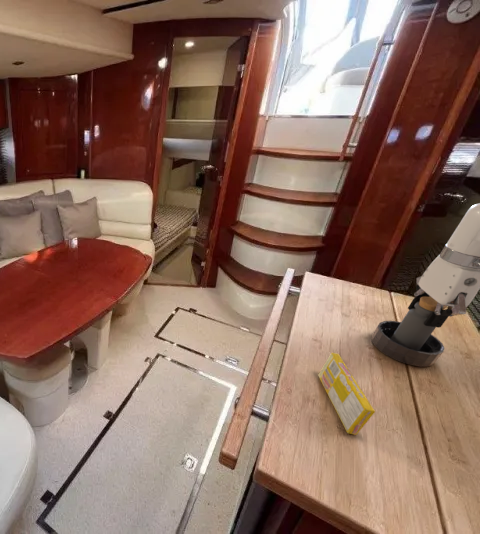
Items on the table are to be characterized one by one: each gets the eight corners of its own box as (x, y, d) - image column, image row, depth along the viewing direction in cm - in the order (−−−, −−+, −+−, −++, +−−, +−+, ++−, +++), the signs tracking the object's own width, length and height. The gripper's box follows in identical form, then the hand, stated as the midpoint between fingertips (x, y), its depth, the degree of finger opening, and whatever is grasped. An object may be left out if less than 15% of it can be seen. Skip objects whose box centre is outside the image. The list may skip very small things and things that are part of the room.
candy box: (358, 436, 64) (376, 412, 60) (346, 433, 65) (363, 409, 61) (326, 376, 78) (339, 353, 74) (317, 374, 78) (329, 351, 74)
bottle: (391, 334, 88) (419, 292, 80) (420, 345, 84) (451, 302, 76) (387, 344, 85) (416, 301, 77) (416, 356, 81) (449, 311, 73)
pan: (414, 338, 89) (423, 325, 86) (446, 372, 78) (457, 358, 76) (361, 330, 92) (369, 317, 90) (385, 362, 81) (394, 348, 79)
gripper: (520, 278, 62) (466, 343, 71) (457, 243, 77) (419, 301, 86) (473, 273, 64) (426, 337, 73) (420, 240, 79) (387, 297, 88)
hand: (423, 317), depth 79 cm, fingers closed on bottle, 5 cm apart
